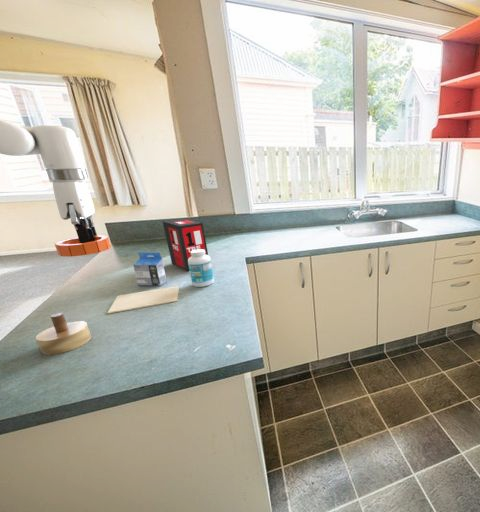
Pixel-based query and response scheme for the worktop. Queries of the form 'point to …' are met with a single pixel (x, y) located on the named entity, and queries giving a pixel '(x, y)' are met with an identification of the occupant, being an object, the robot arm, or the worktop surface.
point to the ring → (82, 246)
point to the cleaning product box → (184, 240)
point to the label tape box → (150, 269)
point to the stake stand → (63, 335)
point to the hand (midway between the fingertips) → (89, 241)
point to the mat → (144, 299)
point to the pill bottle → (200, 268)
